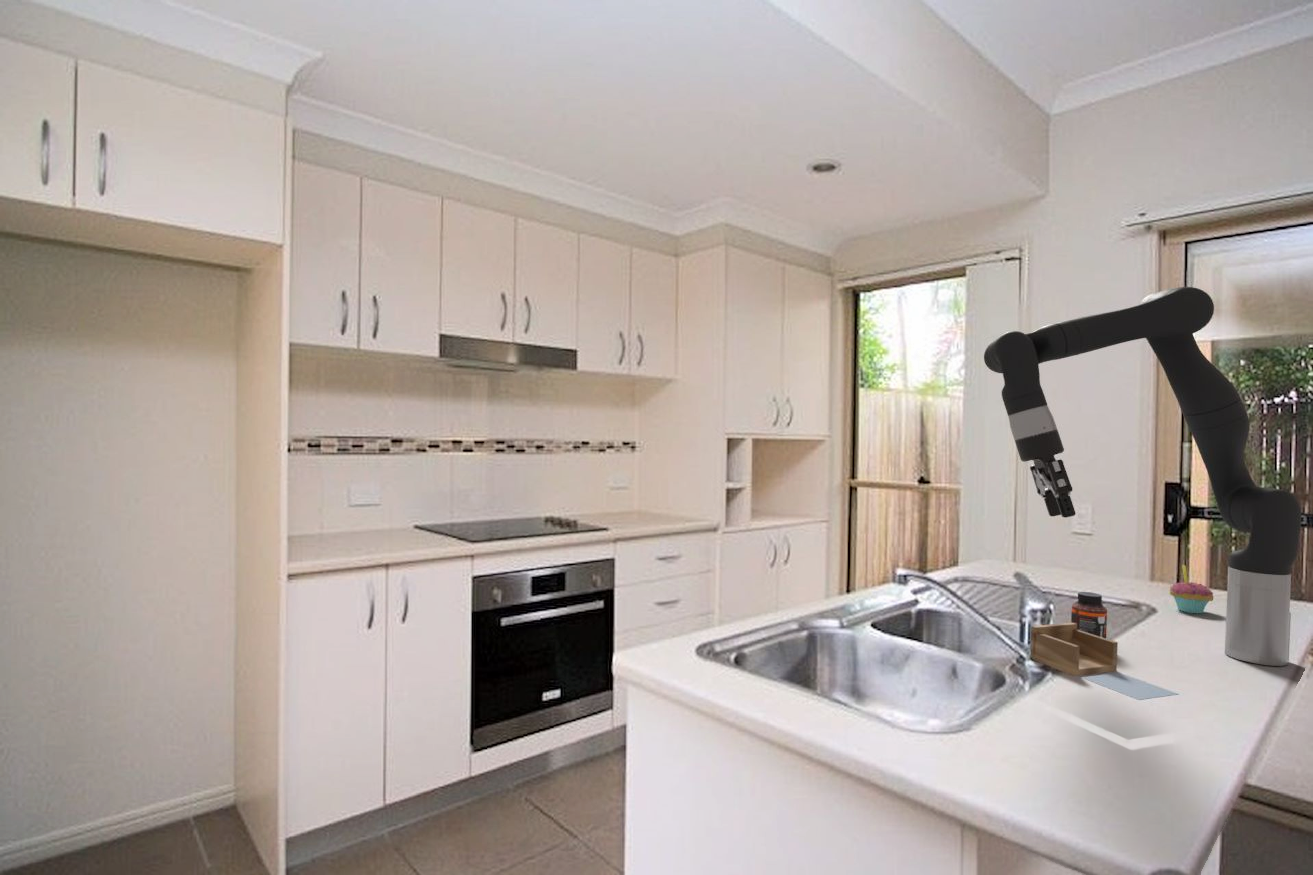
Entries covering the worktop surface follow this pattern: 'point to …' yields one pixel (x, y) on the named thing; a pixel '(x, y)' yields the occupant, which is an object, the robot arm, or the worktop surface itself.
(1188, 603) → the cupcake
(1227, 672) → the worktop surface
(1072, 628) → the tray
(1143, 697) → the plate
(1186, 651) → the worktop surface
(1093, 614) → the supplement bottle
